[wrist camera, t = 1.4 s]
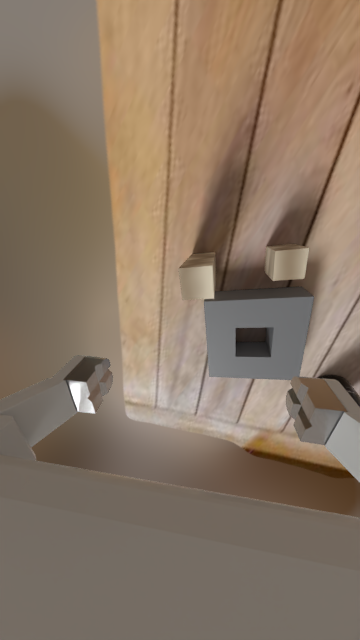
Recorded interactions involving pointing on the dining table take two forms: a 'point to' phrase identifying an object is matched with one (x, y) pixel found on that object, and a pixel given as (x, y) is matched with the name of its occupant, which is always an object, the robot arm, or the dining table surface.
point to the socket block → (258, 312)
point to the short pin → (286, 261)
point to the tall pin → (198, 276)
